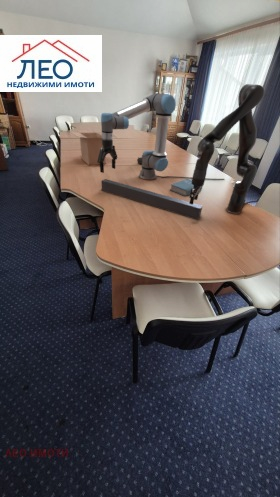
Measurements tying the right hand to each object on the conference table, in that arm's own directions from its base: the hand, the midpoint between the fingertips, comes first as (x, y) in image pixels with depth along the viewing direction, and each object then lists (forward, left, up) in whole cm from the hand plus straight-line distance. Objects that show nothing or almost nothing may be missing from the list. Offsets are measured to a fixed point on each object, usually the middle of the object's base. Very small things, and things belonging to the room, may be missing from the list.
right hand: (193, 201), depth 143 cm
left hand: (+45, -51, +6) cm, 69 cm away
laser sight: (-10, -116, -10) cm, 117 cm away
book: (-19, -42, -10) cm, 47 cm away
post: (+22, -25, -10) cm, 35 cm away
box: (+45, -134, -10) cm, 142 cm away
